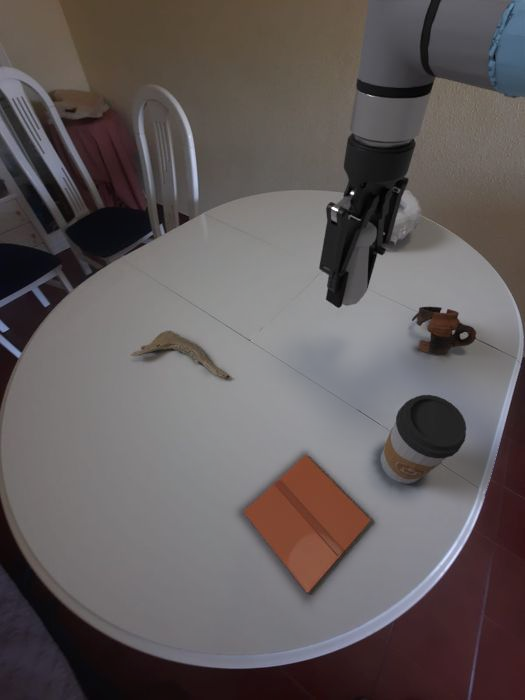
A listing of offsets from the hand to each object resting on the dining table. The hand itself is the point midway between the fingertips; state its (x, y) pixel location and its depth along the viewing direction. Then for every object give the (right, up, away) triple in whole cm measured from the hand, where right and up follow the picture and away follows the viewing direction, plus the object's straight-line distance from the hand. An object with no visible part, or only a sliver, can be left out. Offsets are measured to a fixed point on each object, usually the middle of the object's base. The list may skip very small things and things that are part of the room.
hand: (347, 293), depth 56 cm
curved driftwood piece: (-30, -13, +12) cm, 35 cm away
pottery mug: (+22, -7, +15) cm, 28 cm away
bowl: (+19, +24, +41) cm, 51 cm away
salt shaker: (0, -1, +1) cm, 1 cm away
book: (-8, -34, -6) cm, 35 cm away
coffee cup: (+8, -28, -1) cm, 29 cm away
